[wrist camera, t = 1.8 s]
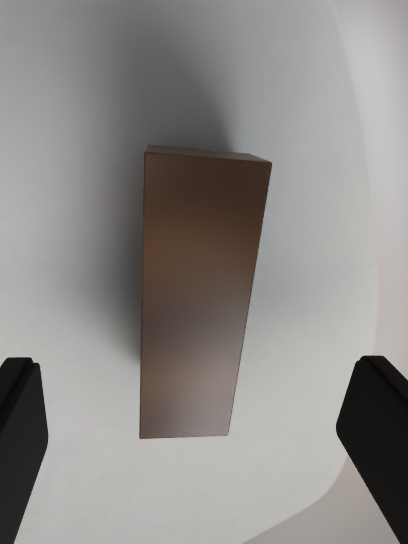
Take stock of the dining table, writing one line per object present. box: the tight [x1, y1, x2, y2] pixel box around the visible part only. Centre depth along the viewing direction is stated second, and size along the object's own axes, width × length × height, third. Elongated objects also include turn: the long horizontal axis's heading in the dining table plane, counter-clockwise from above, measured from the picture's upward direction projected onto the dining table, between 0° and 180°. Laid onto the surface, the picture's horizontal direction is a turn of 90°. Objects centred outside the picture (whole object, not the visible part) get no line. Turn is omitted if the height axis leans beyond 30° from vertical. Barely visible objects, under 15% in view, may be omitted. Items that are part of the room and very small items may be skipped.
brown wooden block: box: [139, 145, 272, 439], centre depth 15 cm, size 12×4×4 cm, turn 175°
